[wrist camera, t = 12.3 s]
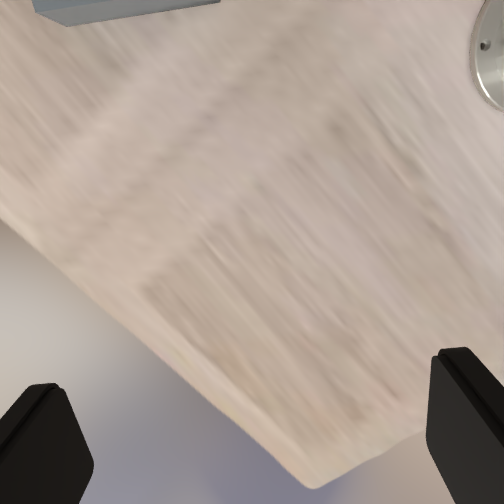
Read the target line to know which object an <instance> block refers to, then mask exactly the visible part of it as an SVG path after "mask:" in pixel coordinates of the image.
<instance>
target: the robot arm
mask: <svg viewBox="0 0 504 504" xmlns="http://www.w3.org/2000/svg"><path fill="white" fill-rule="evenodd" d="M480 45H482V48H481V49H480ZM469 53H470V69H471V73H472V77H473V81H474V83H475V85H476V87H477V89H478V91H479V93H480V94H481V96H482V97H483V98H484V99H485V101H486V102H487V103H489V104H490V105H491V106H493V107H494V108H495V109H496V110H499V111H501V112H503V113H504V0H486V2H485V3H484V5H483V7H482V9H481V11H480V14H479V16H478V18H477V20H476V23H475V27H474V30H473V33H472V37H471V45H470V52H469ZM426 441H427V446H428V449H429V452H430V454H431V456H432V458H433V460H434V462H435V464H436V466H437V468H438V470H439V472H440V474H441V476H442V478H443V480H444V482H445V484H446V486H447V488H448V490H449V492H450V494H451V496H452V498H453V500H454V502H455V503H456V504H504V387H503V386H502V384H501V383H500V382H499V381H498V380H497V379H496V378H495V377H494V376H493V374H492V373H491V372H490V371H489V370H488V369H487V368H486V367H485V366H484V364H483V363H482V362H481V361H480V360H479V359H478V358H477V357H476V355H475V354H474V353H473V352H472V351H471V350H470V349H469V348H467V347H458V348H446V349H440V351H439V353H438V356H433V357H432V361H431V374H430V387H429V400H428V413H427V427H426ZM93 469H94V461H93V458H92V456H91V453H90V451H89V448H88V446H87V444H86V441H85V439H84V436H83V434H82V431H81V429H80V426H79V424H78V421H77V419H76V417H75V414H74V412H73V409H72V407H71V404H70V402H69V400H68V397H67V395H66V392H65V391H64V389H62V388H60V387H59V386H58V385H57V384H56V383H47V384H36V385H31V386H29V387H28V388H27V389H26V390H25V391H24V392H23V393H22V394H21V396H20V397H19V398H18V399H17V400H16V401H15V403H14V404H13V405H12V406H11V407H10V409H9V410H8V411H7V412H6V413H5V415H3V417H2V418H1V419H0V504H79V502H80V500H81V498H82V496H83V494H84V491H85V489H86V487H87V485H88V483H89V481H90V479H91V476H92V474H93Z"/></svg>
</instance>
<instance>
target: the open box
mask: <svg viewBox="0 0 504 504" xmlns="http://www.w3.org/2000/svg"><path fill="white" fill-rule="evenodd" d="M219 2H220V0H32V3H33V6H34V9H35V13H37V14H39V15H42V16H44V17H46V18H48V19H50V20H53V21H55V22H57V23H59V24H61V25H64V26H66V27H68V26H75V25H81V24H87V23H93V22H100V21H106V20H112V19H119V18H125V17H131V16H138V15H144V14H150V13H156V12H163V11H169V10H175V9H182V8H188V7H194V6H200V5H207V4H213V3H219Z"/></svg>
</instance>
